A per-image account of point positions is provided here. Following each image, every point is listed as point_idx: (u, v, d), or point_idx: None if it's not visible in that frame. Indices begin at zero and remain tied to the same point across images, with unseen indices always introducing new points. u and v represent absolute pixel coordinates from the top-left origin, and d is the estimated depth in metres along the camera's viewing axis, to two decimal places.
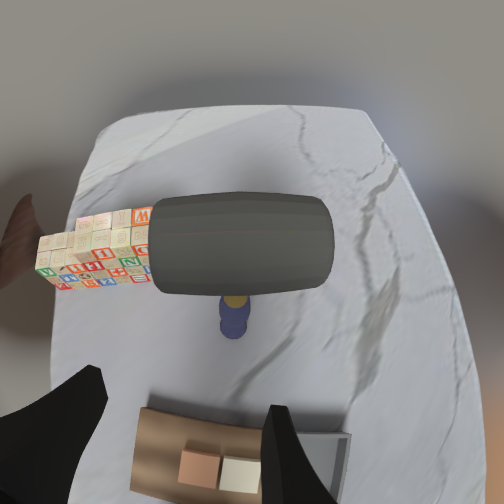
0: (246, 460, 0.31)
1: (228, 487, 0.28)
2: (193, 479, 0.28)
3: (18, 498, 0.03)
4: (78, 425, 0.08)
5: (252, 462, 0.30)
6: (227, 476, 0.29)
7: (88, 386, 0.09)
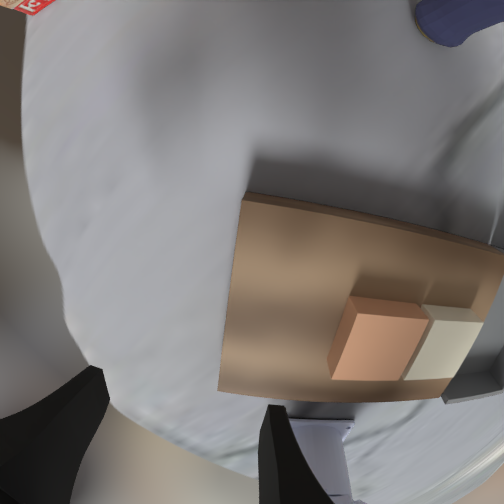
0: (462, 318, 0.15)
1: (420, 374, 0.16)
2: (365, 369, 0.16)
3: (20, 500, 0.03)
4: (80, 426, 0.08)
5: (472, 323, 0.15)
6: (427, 355, 0.16)
7: (90, 387, 0.09)
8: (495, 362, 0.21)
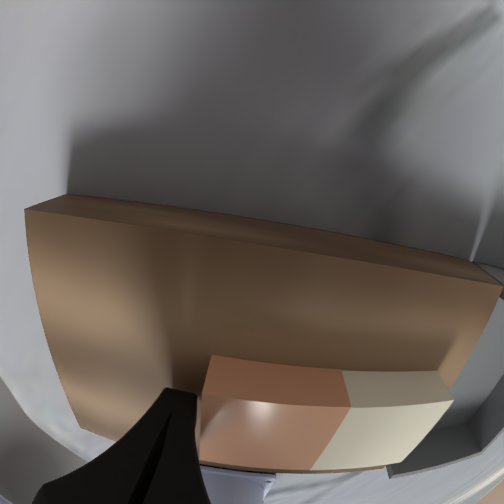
0: (414, 396, 0.09)
1: (337, 465, 0.10)
2: (247, 457, 0.10)
3: None
4: None
5: (431, 403, 0.09)
6: (343, 446, 0.09)
7: (173, 412, 0.09)
8: (476, 414, 0.15)
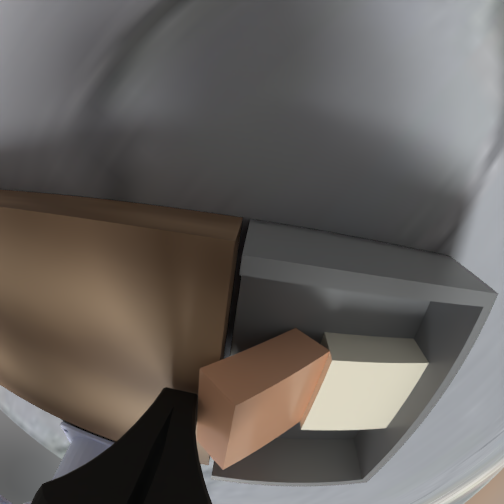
0: (366, 342, 0.12)
1: None
2: (260, 440, 0.11)
3: None
4: (162, 454, 0.08)
5: None
6: None
7: (173, 411, 0.09)
8: (362, 430, 0.15)
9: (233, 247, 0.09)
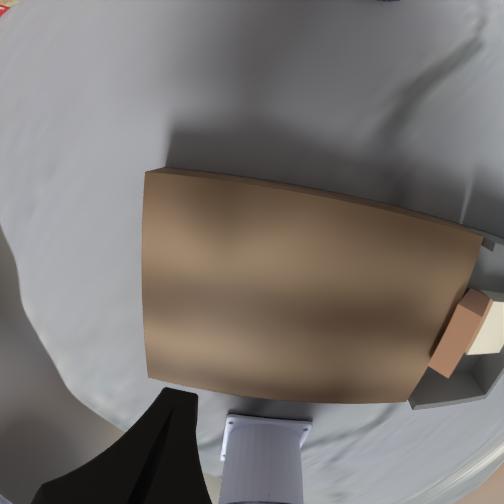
0: (496, 294, 0.17)
1: None
2: None
3: None
4: (162, 454, 0.08)
5: None
6: None
7: (173, 411, 0.09)
8: (478, 363, 0.20)
9: (482, 239, 0.14)
